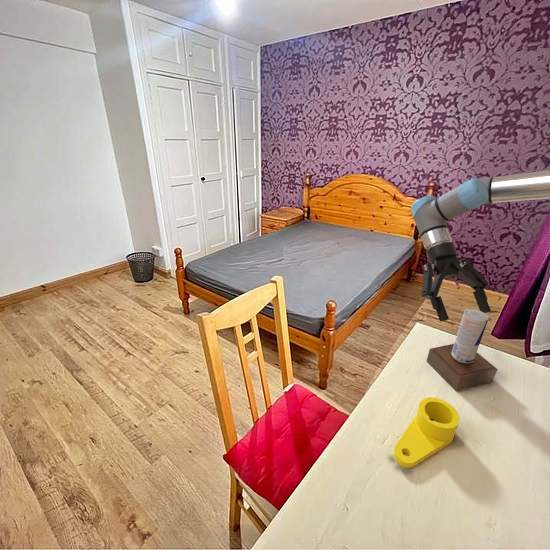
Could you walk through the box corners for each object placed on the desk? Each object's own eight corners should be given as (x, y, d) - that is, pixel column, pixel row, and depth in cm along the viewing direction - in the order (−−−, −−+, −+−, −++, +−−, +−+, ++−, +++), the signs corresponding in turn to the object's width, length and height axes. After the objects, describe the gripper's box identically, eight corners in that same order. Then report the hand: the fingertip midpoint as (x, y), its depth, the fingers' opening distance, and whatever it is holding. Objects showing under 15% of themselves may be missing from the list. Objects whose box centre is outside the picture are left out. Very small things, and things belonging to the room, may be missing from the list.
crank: (426, 408, 78) (431, 391, 76) (460, 432, 72) (466, 415, 70) (382, 448, 69) (385, 430, 67) (415, 479, 63) (421, 461, 60)
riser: (459, 354, 96) (463, 341, 94) (492, 382, 85) (497, 368, 83) (426, 361, 93) (429, 348, 91) (455, 391, 83) (460, 377, 81)
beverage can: (475, 366, 84) (491, 322, 77) (452, 362, 86) (466, 318, 79) (471, 353, 89) (485, 310, 82) (449, 349, 90) (462, 306, 84)
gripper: (465, 246, 96) (492, 312, 90) (394, 256, 91) (418, 326, 85) (484, 236, 89) (514, 306, 83) (408, 246, 84) (435, 321, 78)
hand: (465, 316), depth 84 cm, fingers open, 13 cm apart
